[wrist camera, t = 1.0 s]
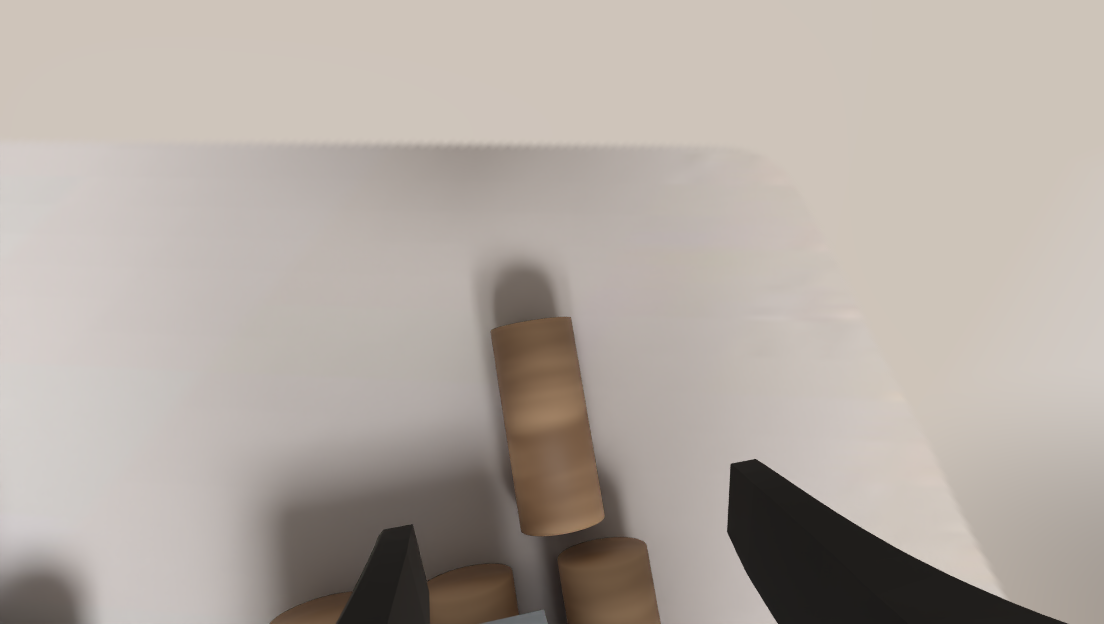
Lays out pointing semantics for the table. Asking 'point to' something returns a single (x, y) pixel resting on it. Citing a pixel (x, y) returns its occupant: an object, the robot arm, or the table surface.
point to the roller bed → (489, 592)
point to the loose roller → (547, 427)
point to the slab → (523, 619)
